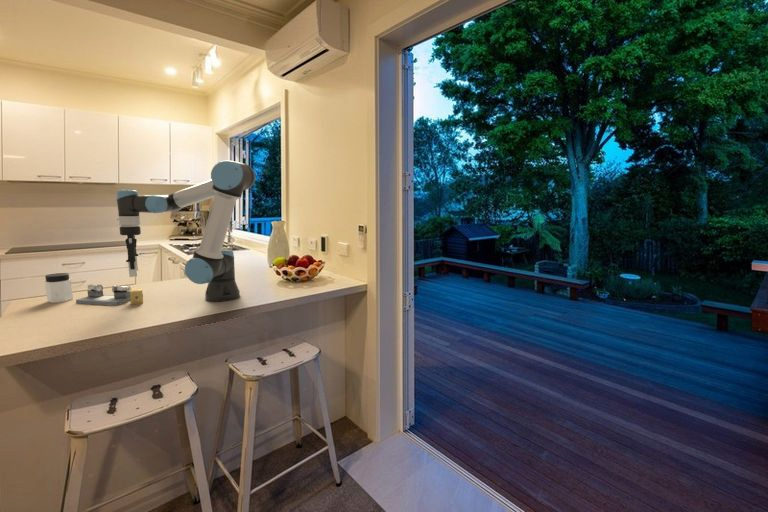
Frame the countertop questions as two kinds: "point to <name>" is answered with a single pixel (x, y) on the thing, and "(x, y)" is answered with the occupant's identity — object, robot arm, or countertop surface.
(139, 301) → the coupler
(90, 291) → the shaft
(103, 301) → the board
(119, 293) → the grey metal block
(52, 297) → the jar
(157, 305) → the countertop surface
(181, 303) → the countertop surface
